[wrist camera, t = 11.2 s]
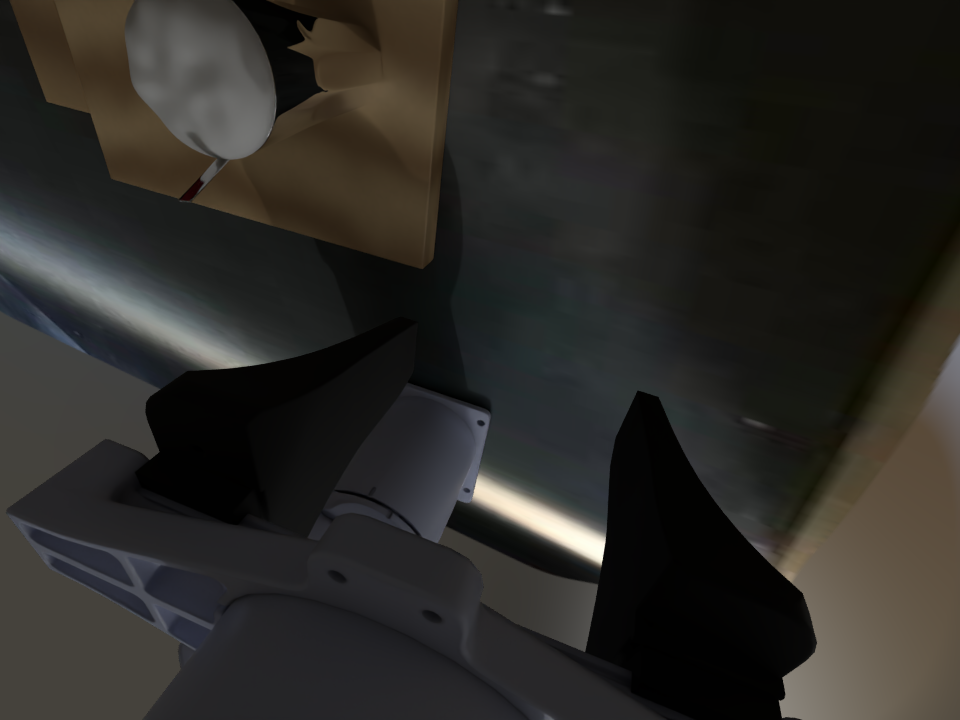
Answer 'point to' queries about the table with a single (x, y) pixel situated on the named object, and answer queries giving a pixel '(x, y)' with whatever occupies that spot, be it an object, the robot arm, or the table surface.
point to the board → (293, 161)
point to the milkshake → (246, 72)
